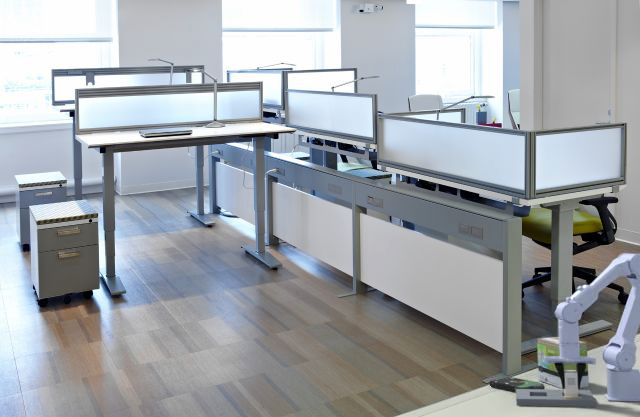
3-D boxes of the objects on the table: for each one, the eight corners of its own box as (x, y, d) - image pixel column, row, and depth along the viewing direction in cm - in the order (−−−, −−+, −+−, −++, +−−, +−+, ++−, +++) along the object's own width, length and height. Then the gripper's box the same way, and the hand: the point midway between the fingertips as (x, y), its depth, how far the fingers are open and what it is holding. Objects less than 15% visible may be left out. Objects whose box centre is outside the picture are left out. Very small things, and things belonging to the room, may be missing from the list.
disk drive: (489, 389, 254) (522, 396, 242) (488, 380, 254) (522, 387, 242) (511, 385, 260) (545, 391, 247) (511, 376, 260) (545, 382, 247)
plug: (577, 396, 232) (576, 370, 232) (578, 400, 227) (577, 373, 227) (564, 396, 233) (563, 370, 233) (565, 400, 228) (564, 373, 228)
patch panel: (590, 396, 236) (589, 389, 236) (595, 407, 222) (595, 399, 222) (516, 395, 241) (515, 388, 241) (516, 405, 227) (516, 398, 227)
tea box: (537, 381, 262) (535, 337, 262) (563, 379, 264) (561, 335, 265) (563, 389, 247) (561, 343, 248) (590, 387, 250) (588, 341, 250)
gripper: (544, 344, 229) (546, 390, 228) (596, 344, 225) (598, 391, 225) (543, 341, 236) (545, 385, 235) (593, 341, 232) (595, 386, 232)
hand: (571, 388), depth 230 cm, fingers closed on plug, 4 cm apart
